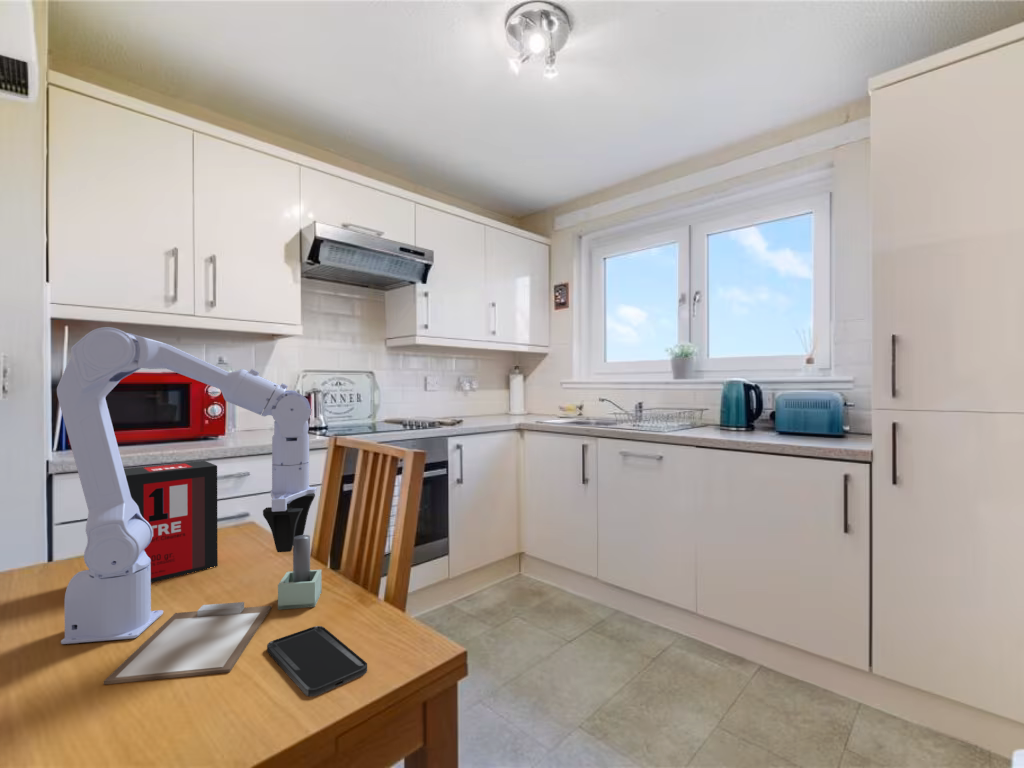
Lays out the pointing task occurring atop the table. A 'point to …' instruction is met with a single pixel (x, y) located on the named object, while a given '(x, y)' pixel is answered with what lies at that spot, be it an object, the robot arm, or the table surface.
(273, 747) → the table surface
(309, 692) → the phone
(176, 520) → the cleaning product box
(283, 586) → the box
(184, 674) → the clipboard
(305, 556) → the marker
